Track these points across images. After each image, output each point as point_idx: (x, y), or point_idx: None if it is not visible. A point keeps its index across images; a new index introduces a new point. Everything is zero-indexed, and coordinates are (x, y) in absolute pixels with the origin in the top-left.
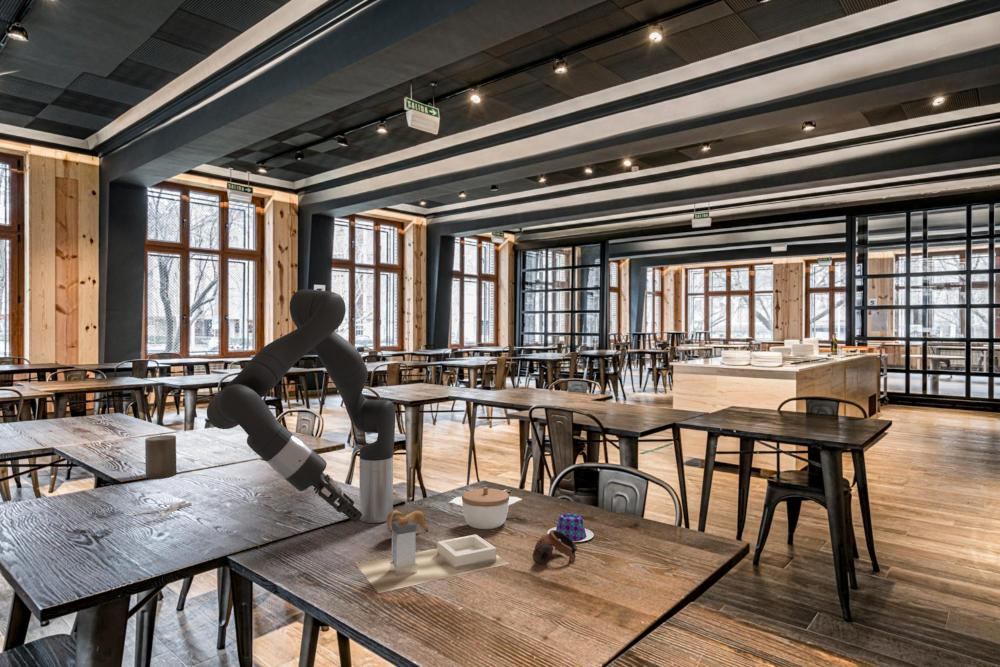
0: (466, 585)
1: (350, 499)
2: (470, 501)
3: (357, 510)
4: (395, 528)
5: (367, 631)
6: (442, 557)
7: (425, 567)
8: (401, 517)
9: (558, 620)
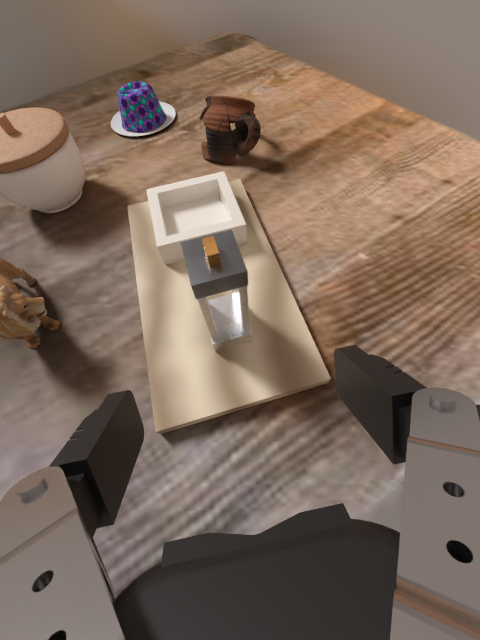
0: (282, 241)
1: (119, 407)
2: (30, 157)
3: (369, 359)
4: (227, 283)
5: None
6: None
7: None
8: (16, 293)
9: (400, 165)
